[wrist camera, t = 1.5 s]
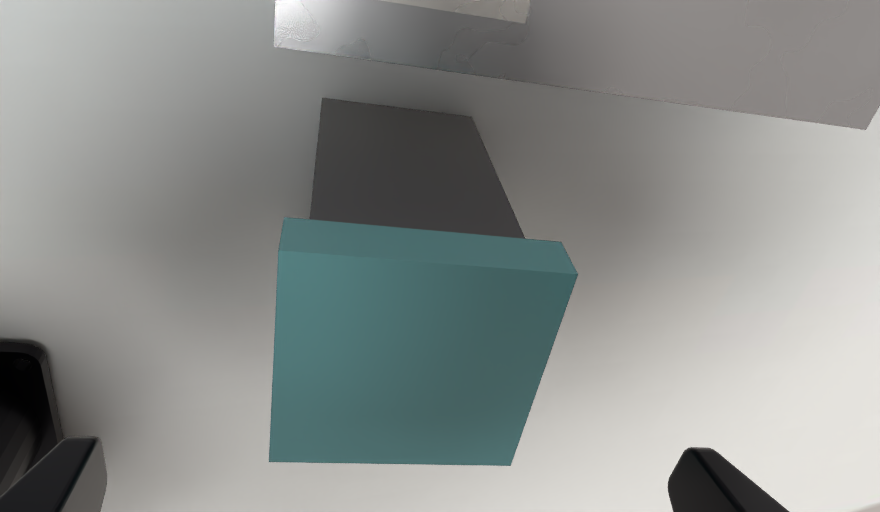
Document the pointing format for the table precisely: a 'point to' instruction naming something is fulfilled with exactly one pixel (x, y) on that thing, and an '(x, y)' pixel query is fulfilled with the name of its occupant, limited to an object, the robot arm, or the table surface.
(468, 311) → the plug
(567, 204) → the table surface
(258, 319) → the table surface
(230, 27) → the table surface
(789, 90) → the faceplate
